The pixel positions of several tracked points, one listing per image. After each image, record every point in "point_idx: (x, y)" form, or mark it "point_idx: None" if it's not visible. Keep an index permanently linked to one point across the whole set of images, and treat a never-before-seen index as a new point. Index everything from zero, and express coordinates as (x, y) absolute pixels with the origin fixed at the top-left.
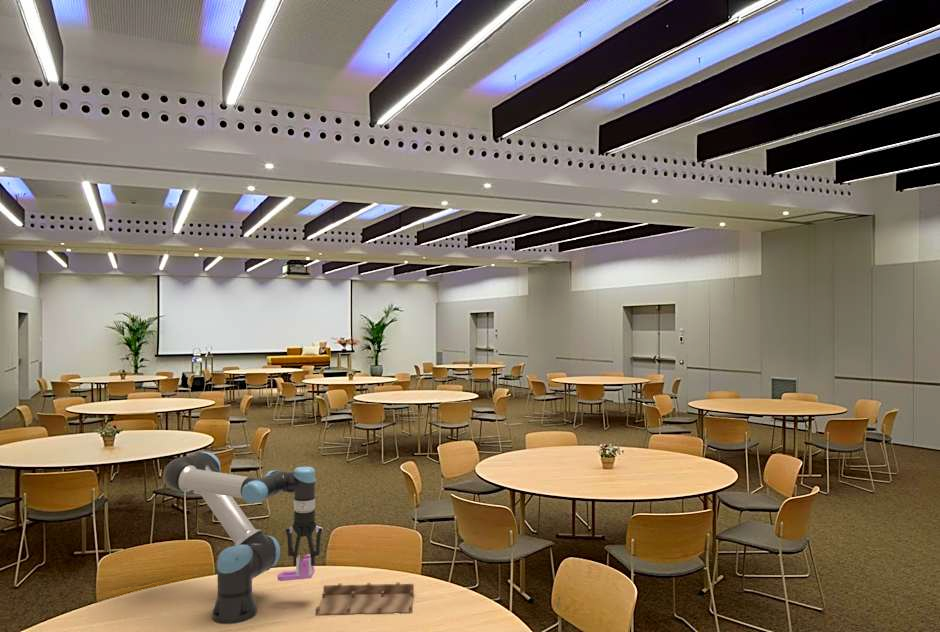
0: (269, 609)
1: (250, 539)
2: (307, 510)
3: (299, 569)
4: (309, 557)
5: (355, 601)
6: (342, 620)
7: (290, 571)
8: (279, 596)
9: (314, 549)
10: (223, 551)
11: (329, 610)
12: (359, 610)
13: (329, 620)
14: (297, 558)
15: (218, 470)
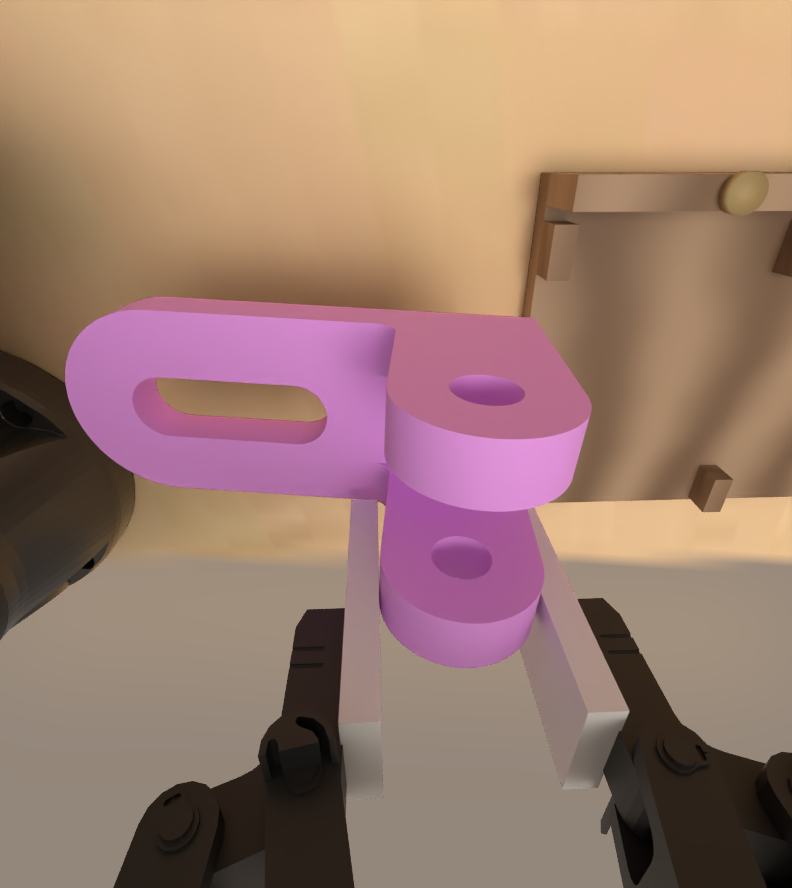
0: (174, 390)
1: None
2: None
3: (378, 560)
4: (575, 783)
5: (780, 342)
6: (646, 524)
7: (201, 337)
8: (133, 139)
9: (751, 868)
10: None
11: (587, 467)
12: (768, 471)
13: (577, 524)
14: (365, 786)
15: None
